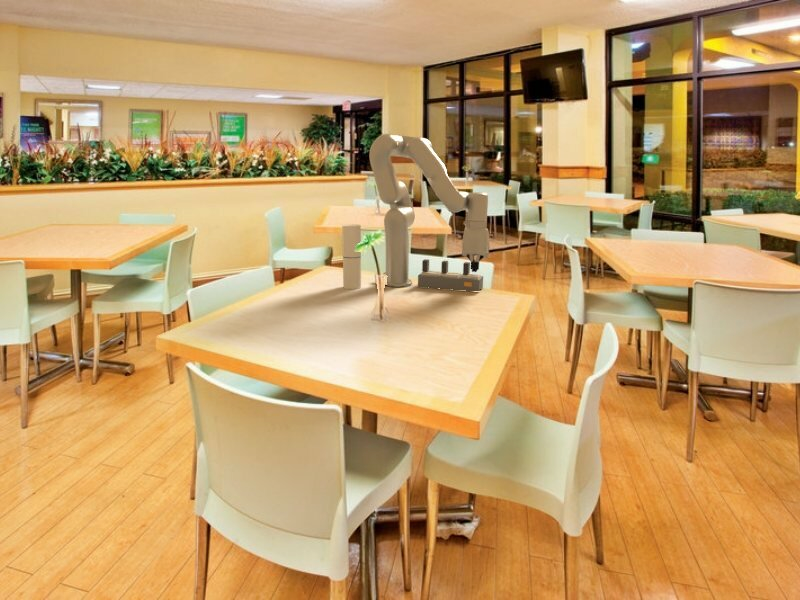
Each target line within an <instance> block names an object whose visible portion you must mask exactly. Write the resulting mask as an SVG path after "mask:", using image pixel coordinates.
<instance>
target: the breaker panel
mask: <svg viewBox="0 0 800 600" xmlns="http://www.w3.org/2000/svg"><path fill="white" fill-rule="evenodd" d="M418 287H427V288H426V289H430V288H440V289H439V290H442V289H453V290H452V291H454V290H466V291H480V289H482V290H483V287H484V276H483V275H481V274H479V273H478V274H477V273H469V274H468V275H465V274H463V272H462V273H461V272H451V271H448V272H447V273H441V270H440V271H439V270H429V271H427V272H426V271H422V272H420V274H418V276H417V288H418ZM428 287H429V288H428ZM480 292H481V291H480Z"/></svg>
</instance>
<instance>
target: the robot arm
mask: <svg viewBox="0 0 800 600" xmlns="http://www.w3.org/2000/svg"><path fill="white" fill-rule="evenodd" d="M433 147H434V146H433V145H432V142H431V141H430V140H429V139H428V138H425V137H421V136H419V137H418V136H416V137H415V136H407V135H400V134H394V133H383V134H381V135H379V136H377V137H376V139H375V140H374V141H373V142H372V144H371V146H370V149H369V155H368V157H369V162H370V167H371V170H372V173H373V177H374V181H375V184H376V185H375V186H376V187H377V192H378V195H379V196H378V197H379V198H380V200H381V202H382V203H384V204H385V205H389V210H388V211H387V212H385V215H384V219H383V224H384V225H383V227H384V234H385V237H384V238H385V272H382V273H383V274H386V275H387V276H388V277H387V286H386V287H391V286H393V287H392V288H394V287H395V288H396V287H397V288H402V287H401V286H404V287H409V286H412V284H413V280H411V279H409V271H410V269H409V261H410V259H409V258H410V257H409V256H410V255H409V254H410V247H409V246H410V237H409V227H411V226H412V225H413V224H414V222H415V217H416V215H415V211H414V210H415V209H414V206H413V203H412V199H411V196H410V193H409V190H408V188H407V185H406V184H405V183H404V181H401V180H399V179H398V176H397V175H396V171H395V168H394V164H393V163H392V159H391V158H392V157H398V158H399V157H400V158H407V159H410V160H412V161H413V163H414V164H415V165H416V167H417V168H418V170H419V171H420V172H421V174H422V175H423V176H424V177H425V178H426V180H427V182H428V184H429V185H430V187H431V189H432V190H433V192H434V193H435V195H436V197H437V198H438V199H439V200H440V202H441V203H442V204H443V206H444V207H445V208H446V209H447V210H448V211H449V212H452V213H459V212H461V211H467V218H466V219H467V220H466V221H465V220H464V221H463V225H464V226H466V227H465V228H464V229H463V230H464V231H463V236H462V243H461V251H462V252H461V256H462V257H466V258H467V259H468V260H469V261H470V270H471V272H472V273H473V272H474V273H477V272H478V271H479V269H480V261H481V260H482V259H487V258H489V257H490V251H489V250H490V234H489V229H488V228H487V227H488V226H487V225H488V224H487V223H488V209H489V208H488V206H489V205H488V203H489V196H488V195H489V194H487V193H486V192H468V191H463V190H462V191H461V190H458V189H457V188H456V186H455V185H454V184H453V181H452V180H451V179H450V177H449V176H448V173H447V168H446V166H445V163H443V162H442V160H441V159H440V158H439V156H438V155H437V154H436V152H435V151H434V149H433ZM475 255H476V258H475ZM408 285H409V286H408Z"/></svg>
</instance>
